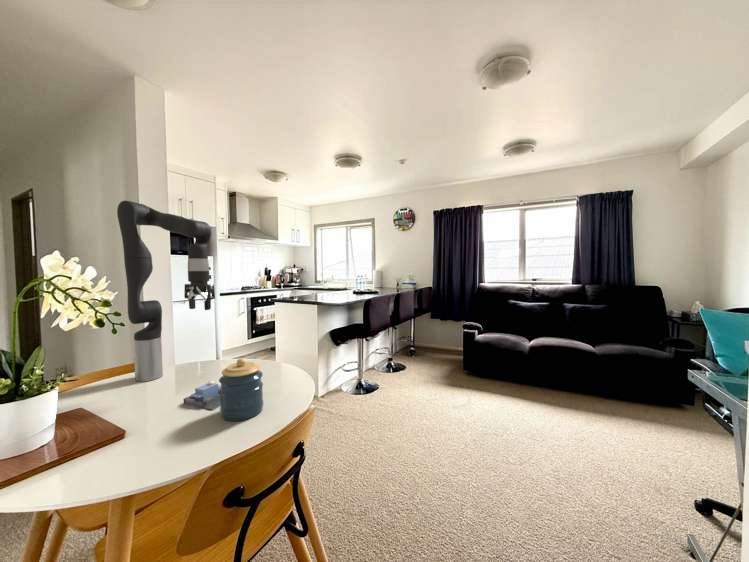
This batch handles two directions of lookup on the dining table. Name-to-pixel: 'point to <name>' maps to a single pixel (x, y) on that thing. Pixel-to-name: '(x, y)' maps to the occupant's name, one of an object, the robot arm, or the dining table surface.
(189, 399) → the chassis plate
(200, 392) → the block
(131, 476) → the dining table surface
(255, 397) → the canister
